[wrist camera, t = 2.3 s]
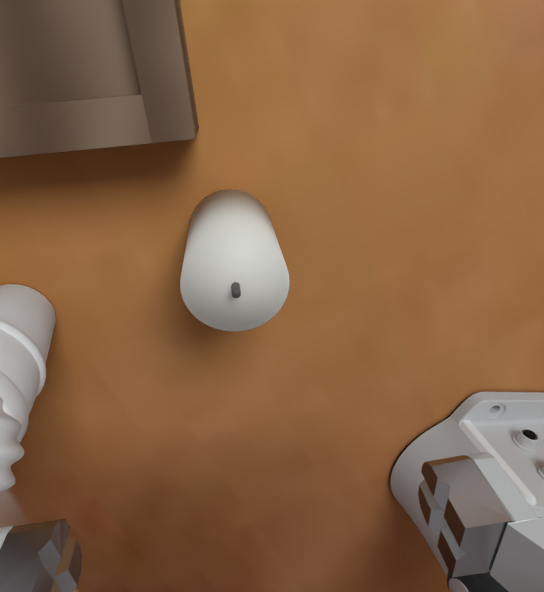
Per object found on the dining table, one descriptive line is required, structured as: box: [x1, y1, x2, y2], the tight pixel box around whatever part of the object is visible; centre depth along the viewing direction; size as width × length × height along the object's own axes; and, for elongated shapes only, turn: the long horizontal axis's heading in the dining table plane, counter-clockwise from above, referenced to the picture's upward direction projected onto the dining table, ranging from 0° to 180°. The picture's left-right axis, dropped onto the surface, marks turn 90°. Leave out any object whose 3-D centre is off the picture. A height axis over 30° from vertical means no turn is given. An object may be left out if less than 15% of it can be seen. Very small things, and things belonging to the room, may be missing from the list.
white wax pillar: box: [180, 189, 289, 331], centre depth 22 cm, size 5×5×8 cm
